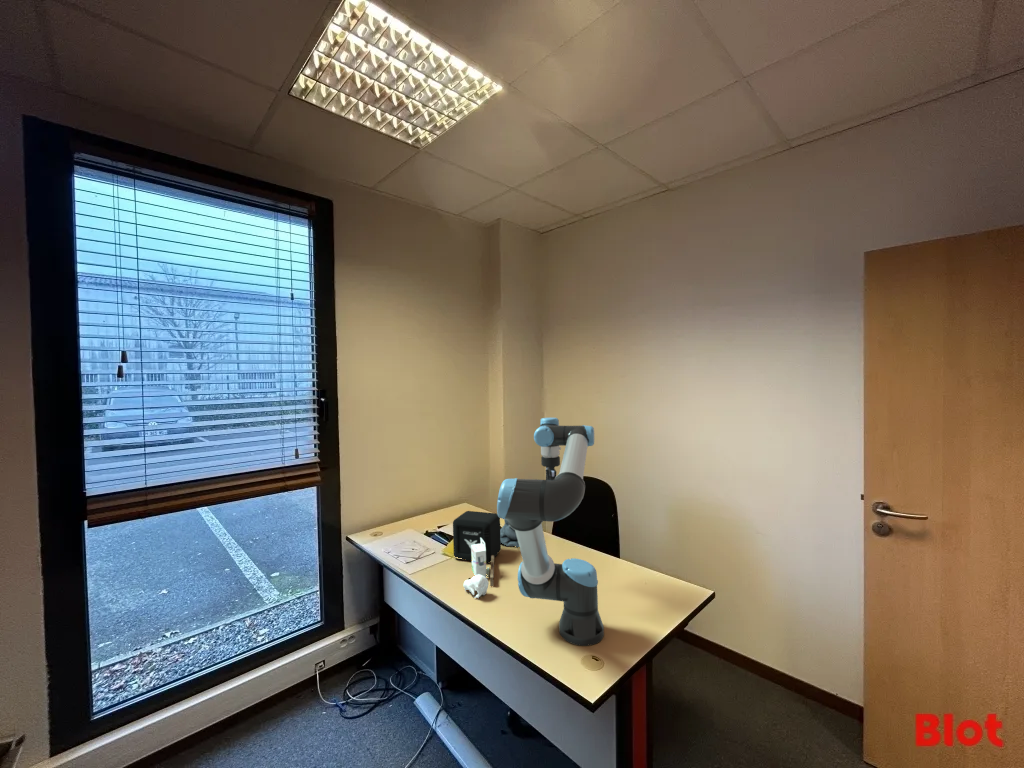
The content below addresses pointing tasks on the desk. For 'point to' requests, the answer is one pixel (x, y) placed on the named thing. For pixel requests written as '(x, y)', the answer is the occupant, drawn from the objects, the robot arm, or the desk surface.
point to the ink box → (479, 558)
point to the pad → (487, 572)
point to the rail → (492, 570)
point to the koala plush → (508, 535)
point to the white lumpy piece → (477, 585)
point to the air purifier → (476, 534)
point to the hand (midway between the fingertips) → (551, 508)
